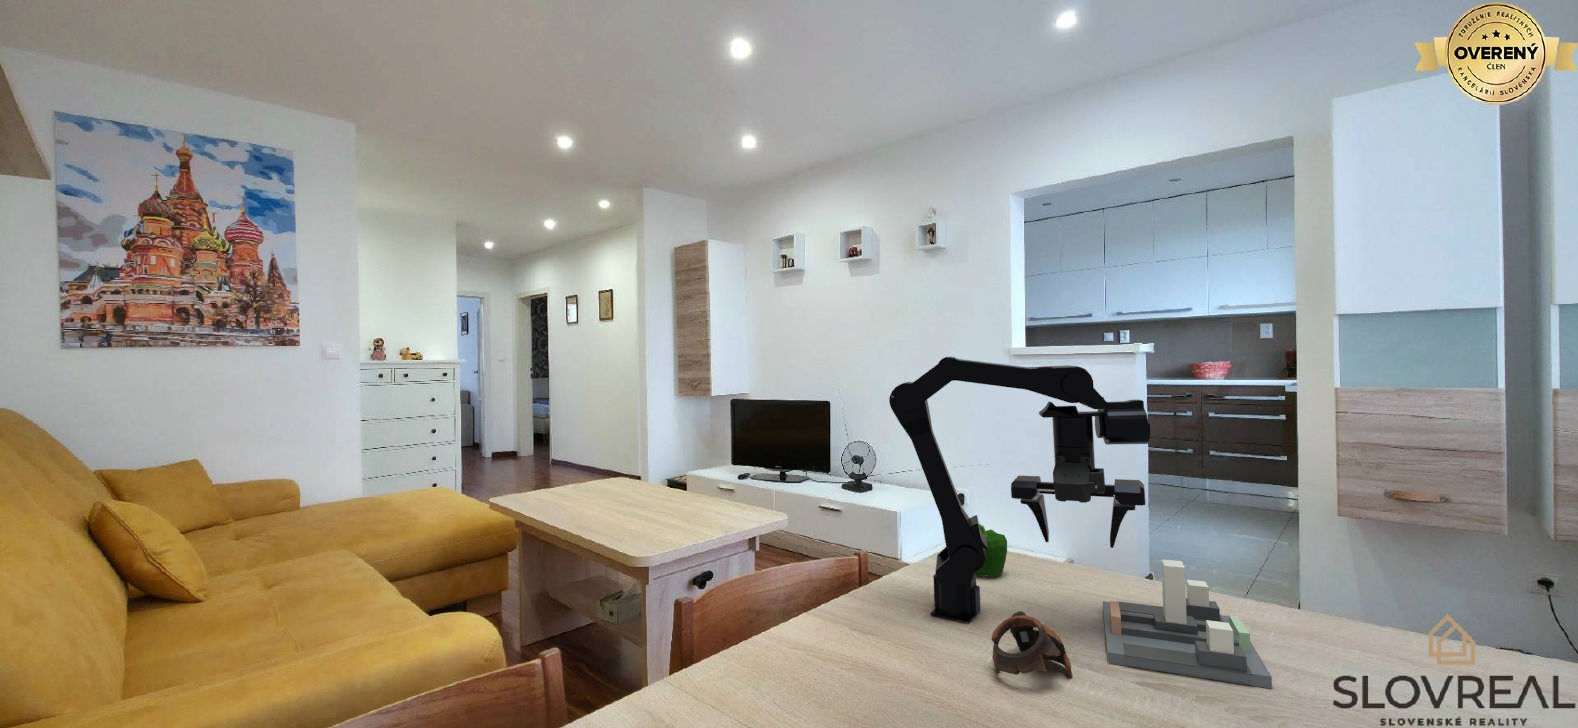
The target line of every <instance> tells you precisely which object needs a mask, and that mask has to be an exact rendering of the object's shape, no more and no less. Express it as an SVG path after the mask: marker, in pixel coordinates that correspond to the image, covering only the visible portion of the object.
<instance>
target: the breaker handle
mask: <svg viewBox="0 0 1578 728" xmlns="http://www.w3.org/2000/svg"><path fill="white" fill-rule="evenodd" d="M1161 576H1162V577H1161V578H1162V579H1161V580H1162V581H1161V582H1162V584H1161V585H1162V605H1163V606H1162V607H1163V613H1158V612H1153V616H1154V628H1155V630H1162V631H1170V632H1177V633H1185V634H1192V635H1198V626H1197V624H1196V622H1195V619H1194V617H1191V616H1186V598H1187V586H1186V568H1185V565H1184V563H1183V561H1181V560H1172V559H1161Z"/></svg>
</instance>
